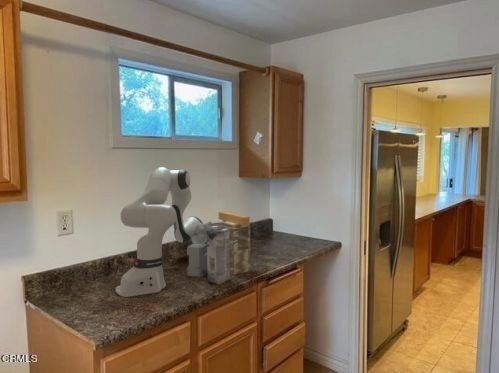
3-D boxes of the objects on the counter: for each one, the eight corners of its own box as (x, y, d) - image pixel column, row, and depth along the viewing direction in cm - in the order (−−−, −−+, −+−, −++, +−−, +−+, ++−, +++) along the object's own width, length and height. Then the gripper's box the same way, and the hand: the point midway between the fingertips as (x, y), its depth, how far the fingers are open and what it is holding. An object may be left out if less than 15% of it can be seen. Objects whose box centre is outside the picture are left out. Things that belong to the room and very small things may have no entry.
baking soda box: (231, 254, 234) (231, 229, 233) (224, 252, 238) (224, 227, 237) (242, 251, 241) (242, 226, 239) (235, 250, 245) (235, 225, 244)
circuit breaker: (214, 277, 190) (213, 248, 189) (187, 275, 193) (187, 246, 192) (218, 272, 198) (218, 244, 196) (192, 271, 201) (192, 243, 199)
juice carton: (232, 279, 187) (231, 225, 185) (219, 285, 178) (218, 229, 176) (217, 276, 191) (217, 224, 189) (204, 282, 183) (203, 227, 180)
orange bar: (243, 225, 190) (243, 217, 190) (218, 219, 209) (218, 212, 209) (249, 224, 192) (249, 216, 192) (224, 218, 212) (224, 211, 211)
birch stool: (231, 275, 194) (231, 225, 192) (221, 270, 202) (220, 222, 200) (250, 270, 201) (250, 222, 199) (240, 266, 209) (239, 219, 207)
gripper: (190, 227, 219) (200, 218, 209) (220, 224, 231) (231, 215, 221) (193, 238, 217) (202, 229, 207) (223, 233, 229) (234, 225, 219)
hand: (217, 222), depth 214 cm, fingers open, 8 cm apart
